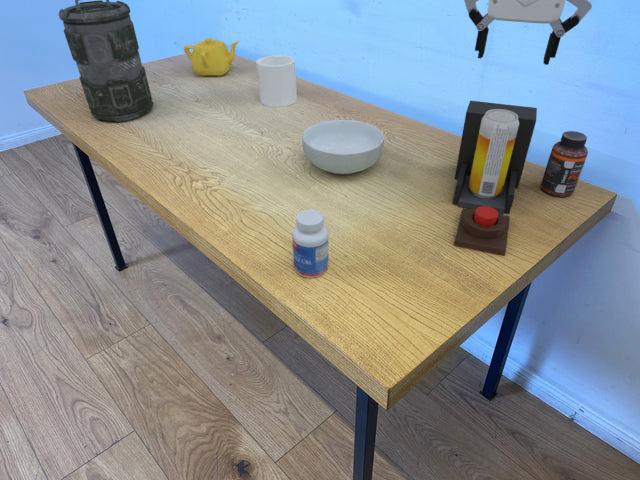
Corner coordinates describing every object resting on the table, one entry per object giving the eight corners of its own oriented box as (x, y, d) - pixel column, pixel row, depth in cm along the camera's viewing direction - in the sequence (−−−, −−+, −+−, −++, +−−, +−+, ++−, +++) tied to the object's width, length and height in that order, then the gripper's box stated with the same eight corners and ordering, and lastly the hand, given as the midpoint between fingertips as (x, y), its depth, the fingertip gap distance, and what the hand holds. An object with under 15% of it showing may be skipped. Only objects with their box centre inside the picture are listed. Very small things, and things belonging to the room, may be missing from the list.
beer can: (498, 183, 90) (516, 108, 81) (504, 200, 86) (524, 122, 77) (465, 182, 91) (480, 107, 82) (470, 199, 86) (486, 122, 77)
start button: (496, 216, 79) (499, 208, 78) (495, 228, 77) (497, 220, 75) (474, 213, 80) (476, 204, 79) (472, 224, 78) (474, 215, 77)
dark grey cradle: (519, 174, 95) (536, 107, 87) (515, 216, 84) (535, 144, 75) (458, 165, 99) (470, 100, 90) (446, 204, 87) (458, 134, 79)
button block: (508, 221, 82) (512, 207, 81) (504, 255, 75) (508, 241, 73) (461, 213, 85) (464, 199, 83) (453, 245, 77) (456, 230, 76)
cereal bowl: (393, 180, 95) (396, 148, 90) (312, 191, 92) (311, 158, 88) (368, 143, 108) (369, 114, 103) (297, 152, 105) (295, 122, 101)
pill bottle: (286, 268, 74) (282, 217, 68) (310, 252, 77) (308, 201, 71) (312, 284, 71) (310, 232, 65) (335, 266, 74) (335, 215, 68)
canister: (104, 129, 117) (64, 5, 100) (83, 110, 127) (45, -5, 110) (163, 112, 125) (136, -5, 108) (140, 96, 135) (112, -14, 118)
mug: (263, 89, 137) (260, 51, 131) (298, 89, 137) (297, 51, 130) (257, 107, 126) (253, 67, 120) (295, 107, 126) (293, 66, 120)
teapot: (225, 63, 158) (220, 30, 151) (243, 73, 149) (239, 39, 143) (186, 72, 151) (180, 38, 145) (204, 82, 143) (198, 47, 137)
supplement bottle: (566, 201, 87) (586, 145, 80) (534, 190, 90) (551, 136, 84) (578, 189, 91) (598, 134, 84) (547, 179, 94) (564, 125, 87)
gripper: (473, -71, 63) (452, 60, 73) (618, -69, 58) (574, 72, 68) (479, -76, 68) (459, 47, 79) (612, -74, 63) (572, 57, 74)
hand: (512, 58), depth 73 cm, fingers open, 9 cm apart
